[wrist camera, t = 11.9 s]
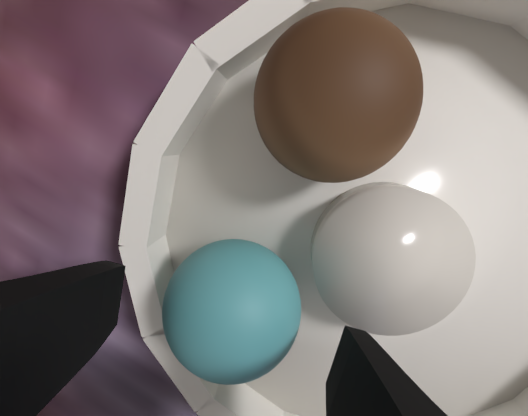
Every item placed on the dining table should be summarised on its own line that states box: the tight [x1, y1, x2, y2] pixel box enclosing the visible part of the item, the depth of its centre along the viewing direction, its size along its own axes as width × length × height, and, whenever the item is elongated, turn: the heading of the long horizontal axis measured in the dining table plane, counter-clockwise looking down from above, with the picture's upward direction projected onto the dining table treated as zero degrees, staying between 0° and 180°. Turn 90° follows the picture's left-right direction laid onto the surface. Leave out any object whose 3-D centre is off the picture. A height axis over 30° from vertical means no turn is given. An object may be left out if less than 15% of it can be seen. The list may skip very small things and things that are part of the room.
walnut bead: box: [254, 7, 423, 183], centre depth 8 cm, size 4×4×4 cm
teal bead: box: [162, 239, 301, 385], centre depth 10 cm, size 4×4×4 cm
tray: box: [118, 0, 528, 416], centre depth 11 cm, size 18×18×2 cm
